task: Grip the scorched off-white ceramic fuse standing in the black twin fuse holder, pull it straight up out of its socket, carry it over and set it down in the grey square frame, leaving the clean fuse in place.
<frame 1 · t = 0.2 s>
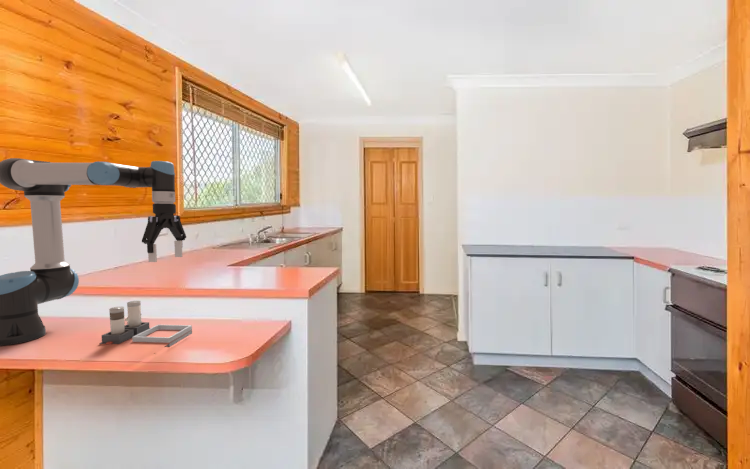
hand: (166, 259, 136), 27 cm above the counter, fingers open, 13 cm apart
grey square frame: (163, 339, 129), on the counter
fuse blown: (118, 339, 124), point 1 cm above the counter, touching fuse holder
fuse holder: (127, 339, 129), on the counter
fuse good: (135, 331, 132), point 1 cm above the counter, touching fuse holder
coral: (133, 325, 145), on the counter
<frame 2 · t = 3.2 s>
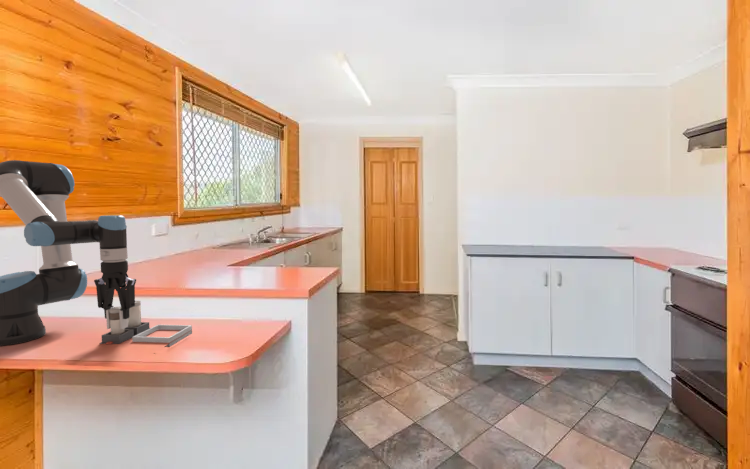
hand: (117, 327, 124), 6 cm above the counter, fingers closed on fuse blown, 4 cm apart
fuse blown: (118, 339, 124), point 1 cm above the counter, touching fuse holder, gripper
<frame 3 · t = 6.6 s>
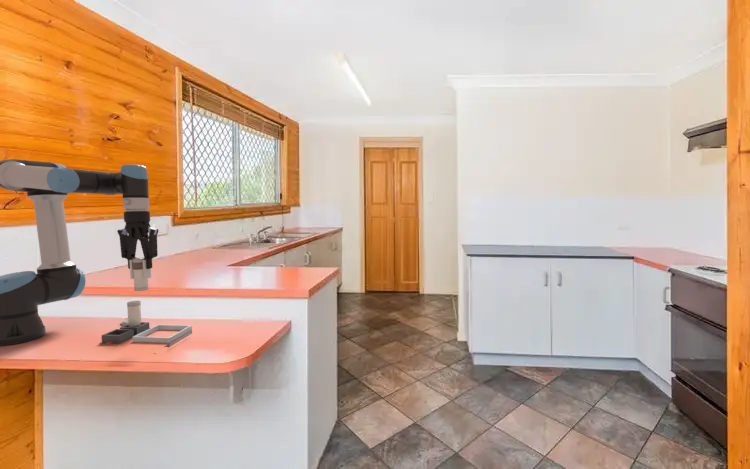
hand: (140, 278, 125), 23 cm above the counter, fingers closed on fuse blown, 4 cm apart
fuse blown: (141, 289, 125), point 19 cm above the counter, touching gripper
when the fingers open (5 cm above the counter, at t = 10.3 s): fuse blown stays where it is, resting on grey square frame.
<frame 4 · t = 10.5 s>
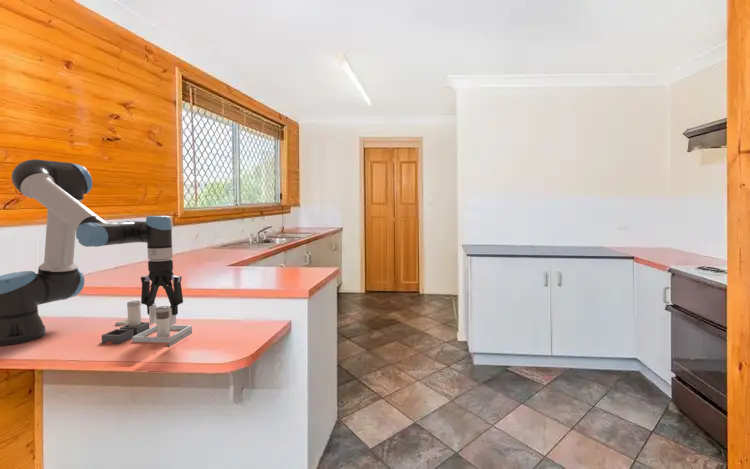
hand: (163, 323, 128), 6 cm above the counter, fingers open, 7 cm apart
fuse blown: (163, 337, 129), point 1 cm above the counter, touching grey square frame
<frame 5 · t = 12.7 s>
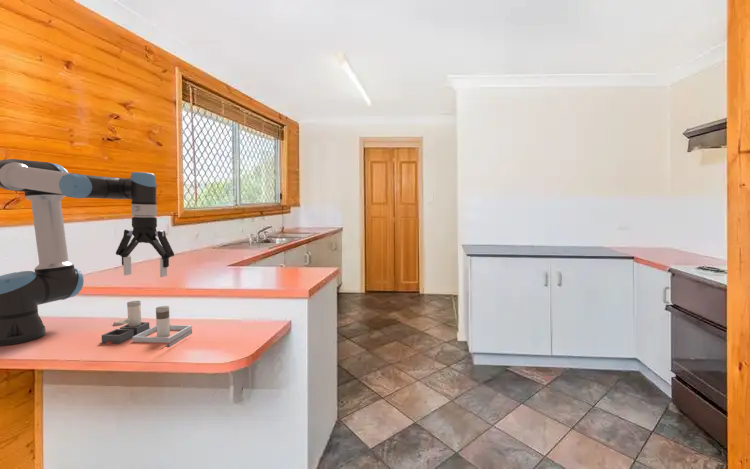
hand: (145, 275, 129), 23 cm above the counter, fingers open, 13 cm apart
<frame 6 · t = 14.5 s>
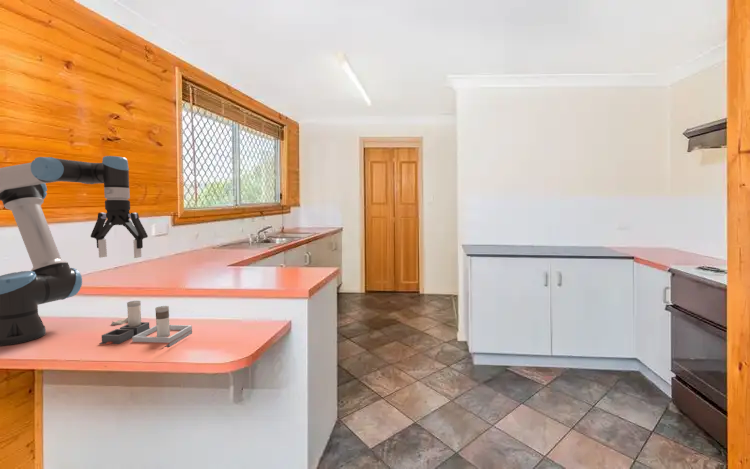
hand: (120, 257, 133), 29 cm above the counter, fingers open, 13 cm apart
at the end: fuse blown inside the target area on the grey square frame (0.0 cm from its centre), point 0.6 cm above the grey square frame's base; the gripper is holding nothing; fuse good moved 0.0 cm from its start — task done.
